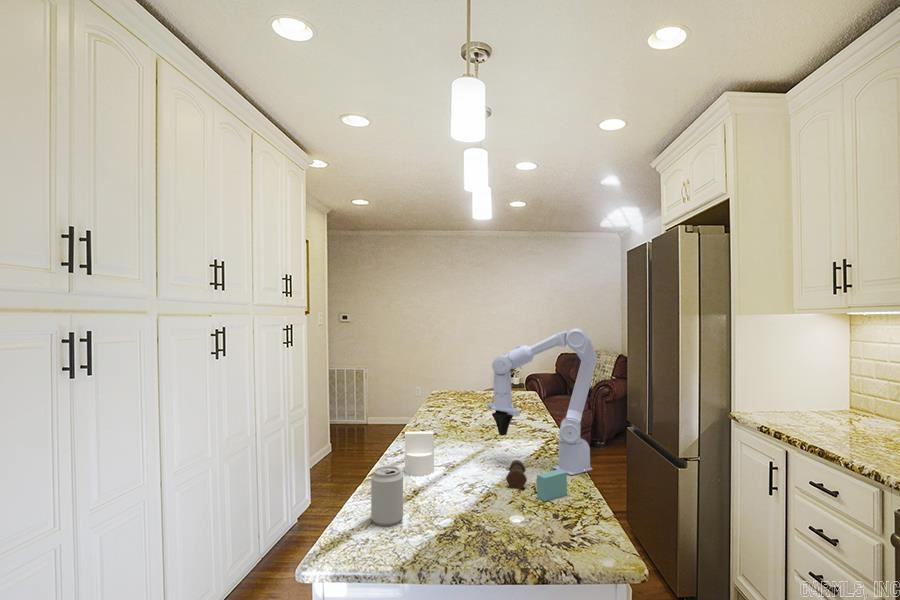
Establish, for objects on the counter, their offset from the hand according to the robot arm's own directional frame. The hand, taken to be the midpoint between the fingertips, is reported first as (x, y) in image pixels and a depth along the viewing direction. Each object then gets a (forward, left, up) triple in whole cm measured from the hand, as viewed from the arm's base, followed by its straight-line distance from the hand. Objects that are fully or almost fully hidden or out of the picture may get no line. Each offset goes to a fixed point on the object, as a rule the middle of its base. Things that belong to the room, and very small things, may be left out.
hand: (502, 434), depth 151 cm
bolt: (+5, +13, -10) cm, 17 cm away
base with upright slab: (+26, -9, -10) cm, 29 cm away
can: (+49, +17, -10) cm, 53 cm away
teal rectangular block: (+6, +26, -9) cm, 29 cm away
